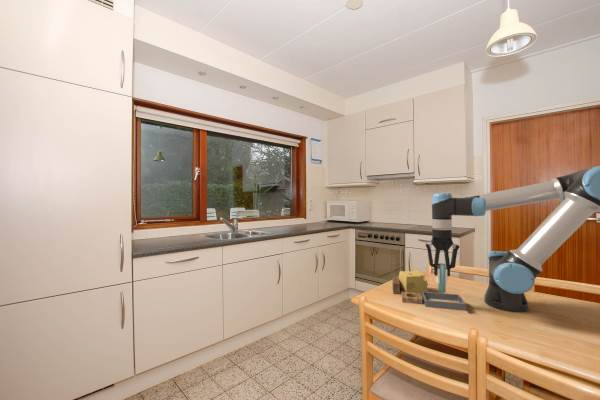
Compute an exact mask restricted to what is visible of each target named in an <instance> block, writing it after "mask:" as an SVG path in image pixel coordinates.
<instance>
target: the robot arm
mask: <svg viewBox="0 0 600 400" xmlns="http://www.w3.org/2000/svg"><path fill="white" fill-rule="evenodd" d="M431 198H432V199H431V216H432V217H431V218H432V219H431V223H432V224H431V227H432V230H431V231H432V232H431V237H432V238H431V240H430V242H428V243H427V242H426V243H425V244H424V245H425V247H426V249H427V250H426V251H427V257H428V264H429V266H430V267H433V274H434V276H436V283H437V285H438V284H440V269H439V268H438V264H439V260H440V253H441V251H442V252H443V254H444V261H445V262H444V264H446V269H445V284H446V285H448V277H450V276H451V269H454V268H456V263H457V256H458V251H459V248H460V245H458V244H456V243H455V242H454V241H453V238H452V237H453V231H452V228H453V227H452V226H453V225H452V223H453V222H452V221H453V219H452V218H453V216H460V217H461V216H464V217H465V216H466V217H484V216H485V215H486V212H488V211H495V210H501V209H507V208H513V207H519V206H525V205H531V204H535V203H536V204H537V203H543V202H549V201H550V202H551V201H555V200H557V201H559V202H560V204H558V205H557V206H556V208H555V209H554V210H553V211H551V213H550V214H549V215H548V216H547V217H546V218H545V219H544V220H543V221H542V222H541V223H540V224H539V225H538V226H537V228H535V230H534V231H533V232H532V233H531V234H530V235H529V236H528V237H527V238H526V239H525V240H524V241H523V242H522V243H521V244H520V246H519V247H518V248H516V249H510V250H508V251H503V250H502V251H501V250H500V251H499V250H491V251H489V252H488V256H487V257H488V258H487V259H488V286H487V289H486V291H485V294H484V300H483V301H484V303H485V304H486V305H488V306H489V307H492V308H496V309H498V310H502V311H507V312H516V313H517V312H518V313H521V312H523V313H524V312H527V311H528V310H529V302H528V300H527V297H526V294H525V293H528V292H529V291H531V290H532V288H533V287H534V285H535V283H536V281H535V280H536V279H537V277H538V276H539V275H540V274H541V273H542V272H543V267H542V265H543V264H544V263H545V262H546V261H547V260H548V259H549V258H550V257H551V256H552V255H553V254H554V253H555V252H556V251H557V250H558V249H559V248H560V247H561V246H562V245H563V244H564V243H565V242H566V241H567V240H568V239H569V238H570V237H571V236H572V235H573V234H574V233H575V232H576V231H577V230H578V229H579V228H580V227H581V226H582V225H583V224H584V223H585V222H586V221H587V220H588V219H589V218H590V217H592V215H593V214H594V213H600V165H596V166H593V167H590V168H589V167H588V168H584V169H580V170H578V171H575V172H572V173H569V174H566V175H562V176H557V177H553V178H552V179H551V180H550V181H544V182H539V183H535V184H530V185H523V186H519V187H514V188H508V189H503V190H498V191H493V192H487V193H483V194H478V195H472V196H465V197H453V196H452V194H451V193H447V192H445V193H442V192H441V193H439V192H438V193H437V192H436V193H433V195H432V197H431ZM432 246H433V247H434V249H435V253H434V262H433V254H432ZM451 247H452V252H451V259H450V256H449V255H450V254H449V249H450V248H451Z"/></svg>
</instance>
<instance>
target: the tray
mask: <svg viewBox="0 0 600 400" xmlns="http://www.w3.org/2000/svg"><path fill="white" fill-rule="evenodd" d="M421 298H422V303H423V304H424V307H425V308H434V309H435V308H436V309H444V310H453V311H454V310H455V311H467V303H466V302H465V301H464V299H463V298H462V296H460V294H458V293H457V294H456V293H454V294H453V293H446V292H445V293H441V292H430V291H428V292H422V295H421ZM430 299H432V300H430ZM433 299H434V300H433ZM439 300H441V301H439ZM443 300H444V301H443ZM452 301H454V302H452Z"/></svg>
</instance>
